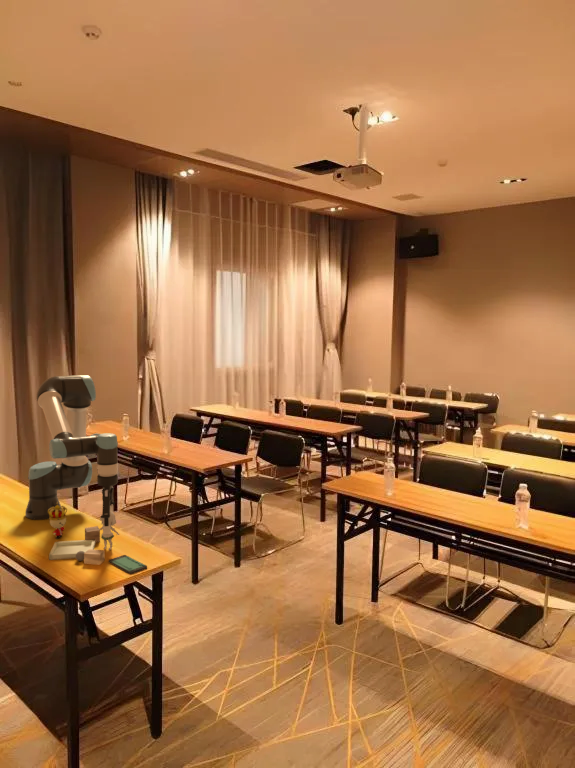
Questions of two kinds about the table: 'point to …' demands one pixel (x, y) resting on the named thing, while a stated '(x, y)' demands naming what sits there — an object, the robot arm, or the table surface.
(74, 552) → the tray
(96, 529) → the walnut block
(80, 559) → the grey ball
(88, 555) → the maple block
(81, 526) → the table surface
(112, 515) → the figurine
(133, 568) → the smartphone
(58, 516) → the toy
